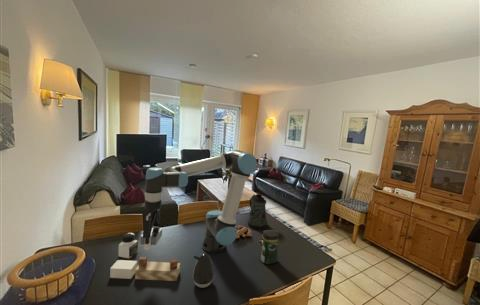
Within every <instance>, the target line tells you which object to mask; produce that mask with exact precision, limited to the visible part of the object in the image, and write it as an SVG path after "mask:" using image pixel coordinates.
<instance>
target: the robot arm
mask: <svg viewBox="0 0 480 305" xmlns="http://www.w3.org/2000/svg"><path fill="white" fill-rule="evenodd" d="M257 166H258V163H257V159H256V157H255V155H254V154H252V153H250V152H248V151H242V150H240V149H234V150H230V151H226V152H222V153H219V155H216V156H212V157H209V158H204V159H200V160H195V161H191V162H187V163H183V164H179V165H174V166H173V165H167V166H166V167H164V169H163V168H161V167H149V168H147V170H146V173H145V186H144V187H145V189H144V190H145V192H144V193H143V194H144V209H145V210H147V213H146V215H145V216H144V224H143V230H142V231H143V232H142V234H143V238H145V244H143V245H144V247H143V248H144V249H143V250H145V251H151V249H152V245H151V236H150V235H151V230H152V228H160V227H161V208H162V203H163V202H162V199H163V188H182V187H186V186H187V185H188V182H189V177H191V176H194V175H195V176H196V175H199V174H203V173H207V172H210V171H214V170H218V169H224V170H225V169H229V168H230V174H231V178H230V182H229V185H228V188H227V192H226V196H225V200H224V202H223V206H222V210H216V209H215V210H210V211H207V212H206V215H205V216H206V217H205V232H204V236H203V239H202V241H201V249H202V250H203V251H205V252H206V253H211V254H212V253H214V254H215V253H219V252H222V251H224V250H225V248H226V246H228V245H231V243H233V242H234V241H236V239H237V235H238V231H237V228H236V226H237V223H238V221H237V220H236V216H237V213H238V209H239V206H240V202H241V199H242V196H243V193H244V192H243V191H244V189H245V184H246V181H247V180H248V179H249V178H250V177H251V174H253V173H254V172H255V171H256V169H257Z"/></svg>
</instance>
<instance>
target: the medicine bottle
mask: <svg viewBox="0 0 480 305" xmlns="http://www.w3.org/2000/svg"><path fill="white" fill-rule="evenodd" d="M135 236H136V235H135V233H134V232H128V233H124V234H123V235H122V241H121V242H120V243H119V244H118V257H119V258H120V257H121V258H123V259H130V258H132V257H133V256H134V255H135V254H136V253H138V251H139V241H138V240H136V239H135Z"/></svg>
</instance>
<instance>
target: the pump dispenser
mask: <svg viewBox="0 0 480 305" xmlns="http://www.w3.org/2000/svg"><path fill="white" fill-rule="evenodd" d="M193 259H195V260H196V262H195V265H194V267H193V272H192V280H193V283H194V284H195V285H196V287H197V288H203V289H204V288H207V287H208V286H210V285H211V283H212V282H213V280H214V277H215V270H214V264H213V260H212V258H211V256H210V255H209V254H208V253H205V252H204V253H201V255H200V256H197V255H193Z"/></svg>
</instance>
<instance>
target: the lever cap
mask: <svg viewBox="0 0 480 305" xmlns="http://www.w3.org/2000/svg"><path fill="white" fill-rule="evenodd" d="M150 236H151V246H156V245H157V244H158V242H159V241H160V239H161V238H162V237H163V227H159V228H153V227H152V230H151V235H150ZM144 244H145V238H143V233H142V234H141V235H140V245H144Z"/></svg>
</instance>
